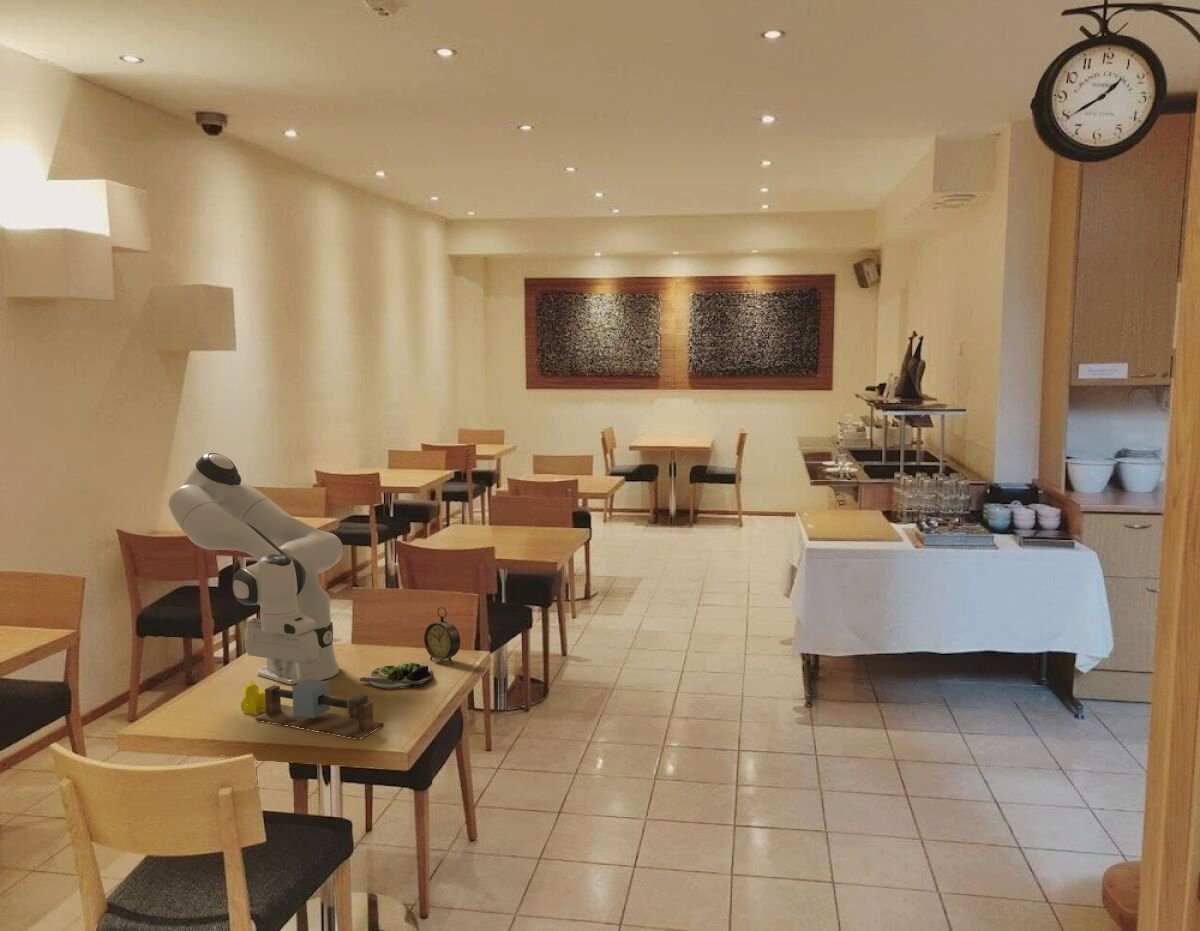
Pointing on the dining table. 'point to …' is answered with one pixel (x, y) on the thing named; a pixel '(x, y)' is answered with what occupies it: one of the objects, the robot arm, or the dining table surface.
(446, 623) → the alarm clock
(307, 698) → the sleeve
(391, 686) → the salad plate
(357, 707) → the rail rig
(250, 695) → the crumpled paper
